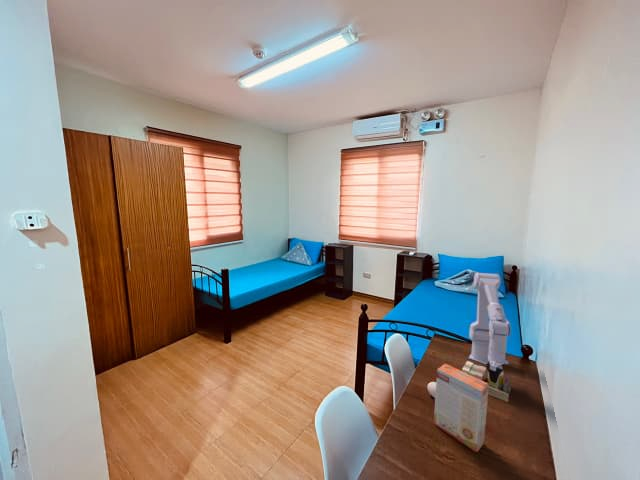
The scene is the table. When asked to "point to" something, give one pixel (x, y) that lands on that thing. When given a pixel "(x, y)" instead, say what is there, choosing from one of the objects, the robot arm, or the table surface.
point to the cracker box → (461, 406)
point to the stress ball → (432, 389)
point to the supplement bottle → (499, 382)
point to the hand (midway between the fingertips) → (494, 378)
